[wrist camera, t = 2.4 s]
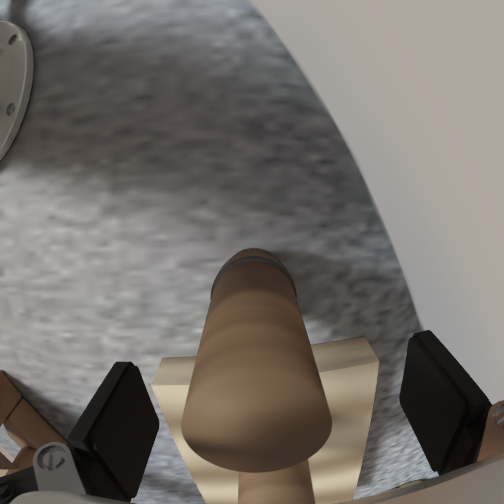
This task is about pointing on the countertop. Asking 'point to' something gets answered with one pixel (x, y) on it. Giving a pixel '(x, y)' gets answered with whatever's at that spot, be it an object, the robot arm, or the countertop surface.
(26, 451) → the brown wooden angled piece
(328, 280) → the countertop surface
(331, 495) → the socket board
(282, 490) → the seated peg
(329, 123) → the countertop surface
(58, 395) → the countertop surface
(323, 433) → the walnut peg
